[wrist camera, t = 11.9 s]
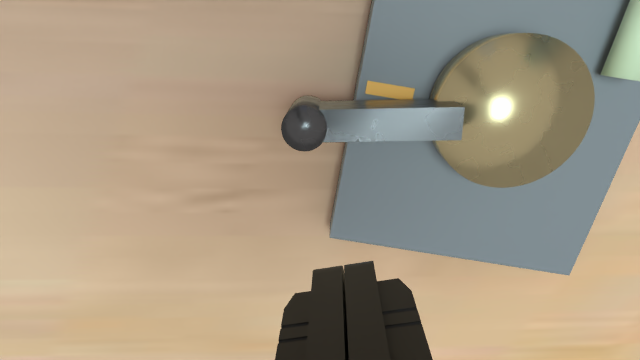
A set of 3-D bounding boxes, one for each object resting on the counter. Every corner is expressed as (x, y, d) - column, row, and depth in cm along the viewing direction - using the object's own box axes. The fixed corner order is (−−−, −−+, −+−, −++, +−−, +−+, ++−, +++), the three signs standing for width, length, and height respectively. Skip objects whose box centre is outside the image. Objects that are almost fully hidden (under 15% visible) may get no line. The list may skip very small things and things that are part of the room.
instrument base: (392, -110, 22) (404, -139, 19) (691, -56, 23) (761, -75, 19) (330, 225, 30) (329, 251, 26) (554, 260, 30) (585, 291, 27)
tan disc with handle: (588, 31, 23) (650, 29, 18) (559, 176, 26) (605, 204, 21) (287, 38, 23) (276, 39, 19) (293, 178, 26) (285, 207, 22)
